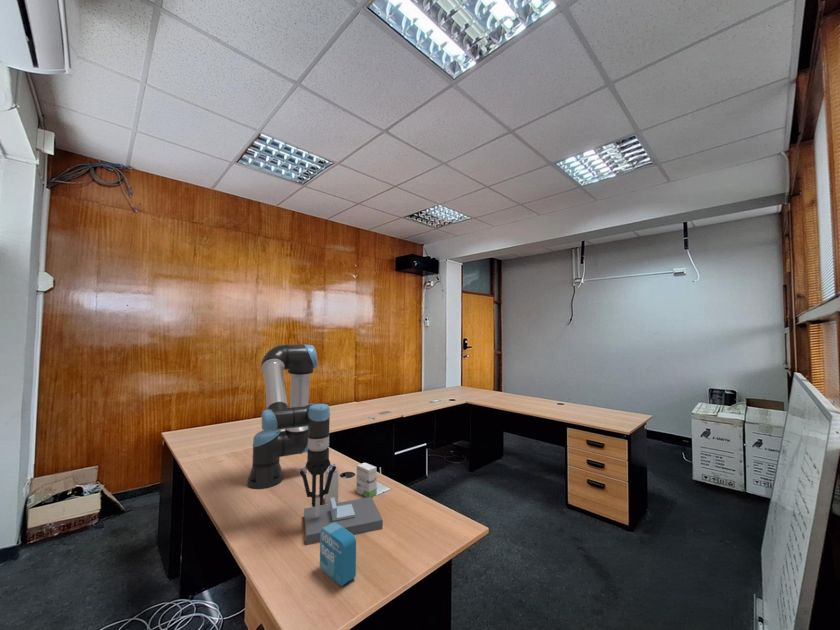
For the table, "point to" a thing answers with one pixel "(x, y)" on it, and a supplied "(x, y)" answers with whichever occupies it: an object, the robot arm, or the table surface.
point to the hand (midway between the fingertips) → (317, 514)
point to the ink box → (366, 480)
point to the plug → (332, 486)
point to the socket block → (362, 522)
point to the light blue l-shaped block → (340, 511)
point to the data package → (338, 553)
